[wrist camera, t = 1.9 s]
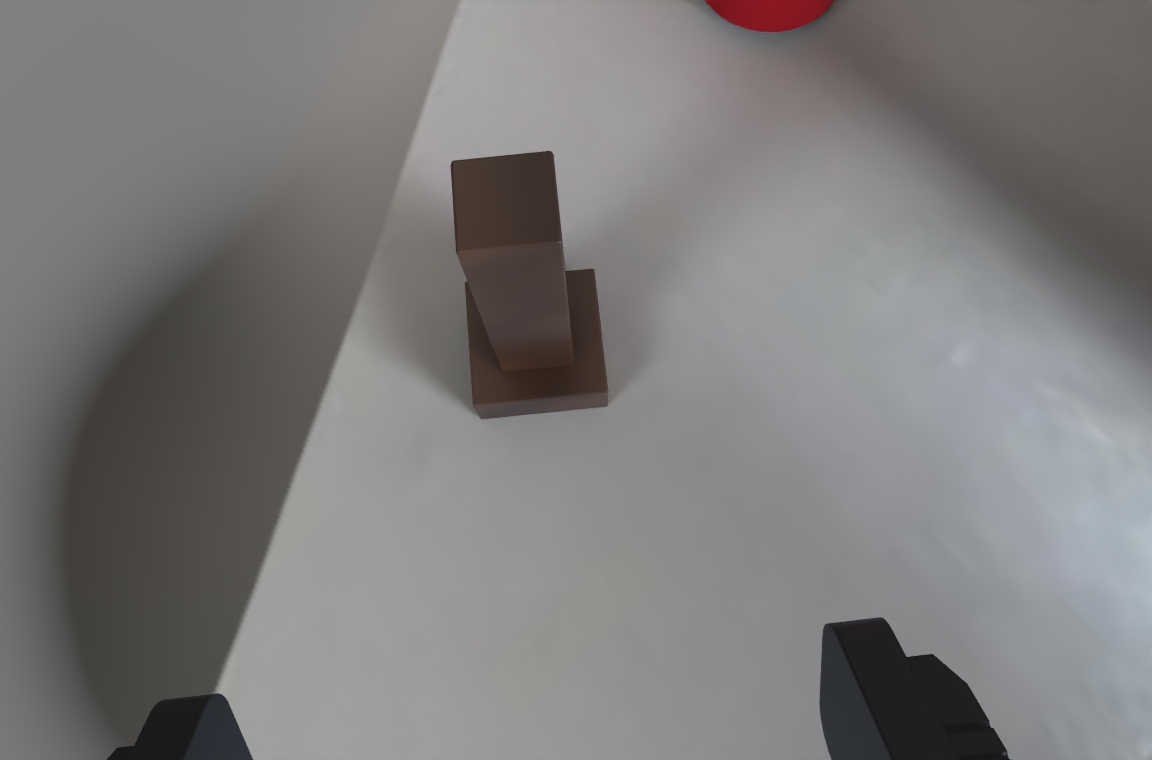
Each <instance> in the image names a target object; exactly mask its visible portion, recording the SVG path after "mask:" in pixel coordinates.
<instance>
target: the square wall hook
mask: <svg viewBox="0 0 1152 760" xmlns="http://www.w3.org/2000/svg"><path fill="white" fill-rule="evenodd" d="M451 178H452V193H453V209H454V225H455V241H456V253H457V255H458V258H459V261H460V263H461V266H462V268H463V271H464V274H465V276H466V279H467V282H465V290H466V305H467V320H468V335H469V351H470V366H471V381H472V396H473V406H474V408H475V409H476V411H477V413H478V415H479V416H480V418H481V419H488V418H498V417H508V416H517V415H527V414H537V413H547V412H557V411H567V410H576V409H586V408H596V407H606V406H607V405H608V386H607V377H606V368H605V360H604V351H603V342H602V333H601V324H600V316H599V307H598V298H597V289H596V280H595V272H594V269H585V270H575V271H565V264H564V253H563V243H562V233H561V223H560V214H559V204H558V194H557V184H556V175H555V165H554V155H553V153H552V152H551V151H545V152H535V153H525V154H515V155H505V156H495V157H486V158H476V159H466V160H456V161H452V163H451Z"/></svg>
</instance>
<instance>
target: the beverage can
mask: <svg viewBox="0 0 1152 760" xmlns="http://www.w3.org/2000/svg"><path fill="white" fill-rule="evenodd" d="M705 1H706V3H707V4H708V5H709V6H710V8H711V9H712V10H713V11H714V12H715V13H716V14H718V15H719V16H720V17H722V18H723V19H724V20H726V21H728V22H729V23H731V24H733V25H736V26H738V27H740V28H743V29H746V30H750V31H755V32H763V33H780V32H787V31H792V30H795V29H798V28H801V27H803V26H806V25H808V24H810V23H812V22H813V21H815V20H816V19H818V18H819V17H820V16H822V15H823V14H824V13H825V12H826V11H827V10H828V9H829V8H830V6H831V5H832V4H833V2H834V1H835V0H705Z"/></svg>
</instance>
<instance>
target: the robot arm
mask: <svg viewBox="0 0 1152 760" xmlns="http://www.w3.org/2000/svg"><path fill="white" fill-rule="evenodd" d="M820 715H821V722H822V727H823V732H824V737H825V740H826V744H827V747H828V751H829V753H830V756H831V759H832V760H1010V759H1009V758H1008V755H1007V750H1006V749H1005V747H1004V745H1003V744H1002V742H1001V740H1000V738H999V737H998V735H997V733H996V732H995V730H994V728H991V727H990V725H989V720H988V718H987V716H986V715H985V713H984V711H983V710H982V708H981V706H980V705H979V703H978V701H977V699H976V698H975V696H974V694H973V693H972V691H971V689H970V688H969V686H968V684H967V683H966V682H965V681H963V680H962V679H961V678H960V677H959V676H958V675H956V674H955V673H954V672H953V671H952V670H951V669H949V668H948V667H947V666H946V665H945V664H944V663H942V662H941V661H940V660H939V659H938V658H937V657H935V656H934V655H933V654H928V655H920V656H911V657H906V655H905V653H904V652H903V650H902V648H901V646H900V644H899V642H898V640H897V638H896V636H895V634H894V633H893V631H892V629H891V627H890V625H889V624H888V623H887V621H886V620H885V619H884V618H881V617H880V618H871V619H863V620H854V621H846V622H837V623H829V624H825V626H824V629H823V637H822V659H821V681H820ZM107 760H253V759H252V756H251V754H250V752H249V749H248V747H247V745H246V742H245V740H244V738H243V736H242V733H241V731H240V729H239V726H238V724H237V722H236V719H235V717H234V715H233V712H232V710H231V708H230V705H229V703H228V701H227V699H226V698H225V697H224V696H223V695H222V694H210V695H201V696H193V697H184V698H176V699H167V700H162V701H160V702H159V703H157V704H156V705H155V706H154V708H153V709H152V711H151V713H150V714H149V716H148V718H147V720H146V723H145V725H144V727H143V729H142V731H141V733H140V735H139V737H138V739H137V741H136V743H135V745H134V746H129V747H121V748H117V749H116V750H115V751H114V752H113V753H112V754H111V756H110V757H109V758H108V759H107Z"/></svg>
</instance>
